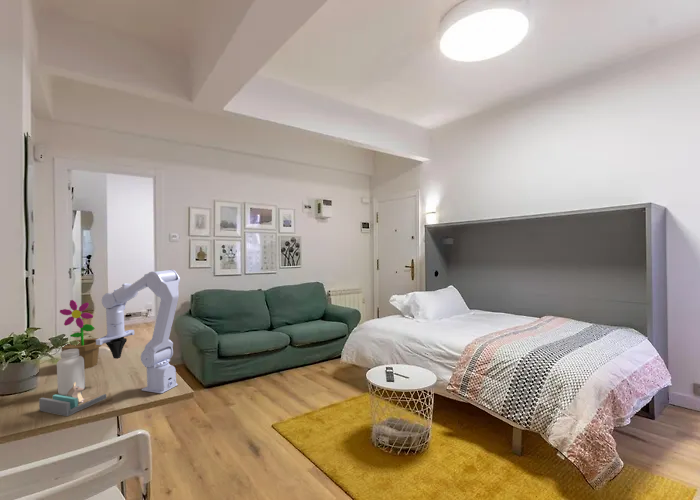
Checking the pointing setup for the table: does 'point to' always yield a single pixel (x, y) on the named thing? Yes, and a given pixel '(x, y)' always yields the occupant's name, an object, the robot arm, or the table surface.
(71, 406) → the block
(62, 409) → the tray
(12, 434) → the table surface
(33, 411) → the table surface
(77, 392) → the mouse figurine
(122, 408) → the table surface
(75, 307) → the flowerpot
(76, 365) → the pill bottle
